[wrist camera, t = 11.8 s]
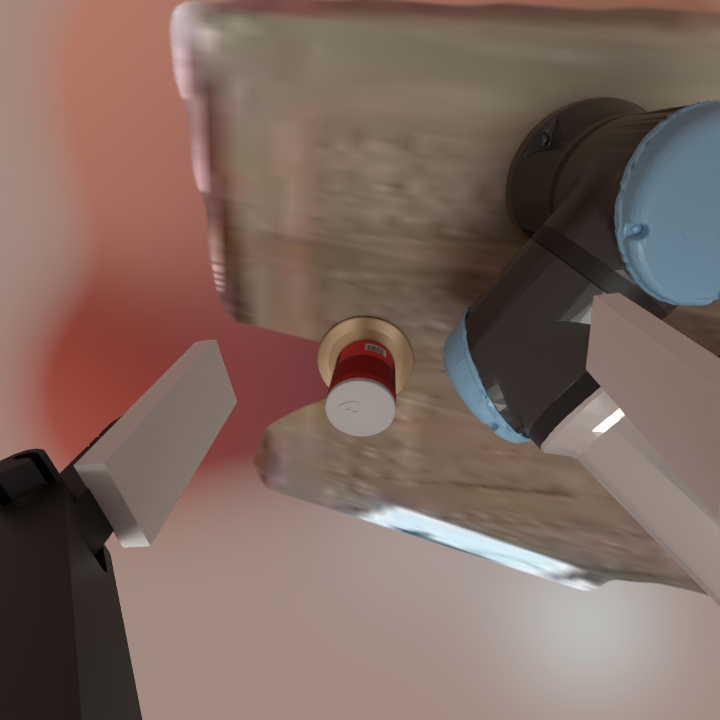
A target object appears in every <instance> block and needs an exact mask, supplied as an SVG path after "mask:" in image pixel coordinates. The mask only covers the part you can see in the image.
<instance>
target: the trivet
mask: <svg viewBox="0 0 720 720" xmlns="http://www.w3.org/2000/svg"><path fill="white" fill-rule="evenodd" d="M360 340H371V341H375V342H377V343H380V344H381V345H383V346H384V347H386V348H387V349H388V350H389V352H390V353H391V355H392V356H393V358H394V361H395V376H396V394H397V393H399V392H400V391H401V390H402V389H403V388H404V387H405V386H406V384H407V383H408V381H409V379H410V377H411V374H412V371H413V364H414V363H413V352H412V348H411V345H410V343H409V341H408V339H407V338H406V336H405V335H404V334H403V333H402V332H401V331H400V330H399V329H398V328H397V327H396V326H394V325H393V324H391V323H389V322H387V321H385V320H383V319H379V318H375V317H368V316H361V317H354V318H350V319H347V320H344V321H342V322H340V323H339V324H337V325H335V326H334V327H333V328H332V329H331V330H330V331H329V332H328V333H327V334H326V336H325V337H324V339H323V341H322V343H321V345H320V349H319V352H318V367H319V371H320V374H321V376H322V378H323V380H324V382H325V383H326V384H327V385H328V387H329V386H330V382H331V379H332V375H333V371H334V367H335V364H336V360H337V357H338V355H339V353H340V352H341V351H342V350H343V349H344V348H345V347H346V346H347V345H349V344H351V343H353V342H356V341H360Z"/></svg>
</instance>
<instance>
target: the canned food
mask: <svg viewBox="0 0 720 720" xmlns="http://www.w3.org/2000/svg"><path fill="white" fill-rule="evenodd" d="M395 412H396V376H395V361H394V358H393V356H392V355H391V353H390V352H389V350H388V349H387V348H386V347H384V346H383V345H381V344H380V343H377V342H375V341H371V340H360V341H356V342H353V343H351V344H349V345H347V346H346V347H345V348H344V349H343V350H342V351H341V352H340V353H339V355H338V357H337V360H336V364H335V367H334V371H333V375H332V379H331V382H330V386H329V390H328V394H327V399H326V414H327V417H328V419H329V420H330V422H331V423H332V424H333V425H334V426H335V427H336V428H337V429H339V430H340V431H342V432H344V433H347V434H349V435H354V436H370V435H374V434H377V433H379V432H381V431H383V430H384V429H386V428H387V427H388V426H389V425H390V424H391V422H392V421H393V419H394V416H395Z"/></svg>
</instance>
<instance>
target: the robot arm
mask: <svg viewBox="0 0 720 720" xmlns="http://www.w3.org/2000/svg"><path fill="white" fill-rule="evenodd" d="M506 201H507V208H508V212H509V215H510V218H511V220H512V222H513V224H514V226H515V227H516V229H517V230H518V232H519V233H520V234H521V235H522V236H523V237H524V238H525V239H526V240H527V242H526V243H525V244H524V246H523V247H522V248H521V249H520V250H519V251H518V253H517V254H516V255H515V256H514V257H513V258H512V260H511V261H510V262H509V263H508V264H507V265H506V266H505V268H504V269H503V270H502V271H501V272H500V273H499V275H498V276H497V277H496V278H495V279H494V280H493V282H492V283H491V284H490V285H489V286H488V287H487V289H486V290H485V291H484V292H483V293H482V294H481V296H480V297H479V298H478V299H477V300H476V301H475V303H474V304H473V305H472V306H470V307H468V308H467V309H466V310H465V312H464V314H463V316H462V319H461V321H460V322H459V323H458V324H457V326H456V327H455V328H454V330H453V331H452V332H451V334H450V335H449V336H448V338H447V339H446V341H445V344H444V356H443V360H444V365H445V369H446V372H447V374H448V377H449V379H450V381H451V383H452V385H453V386H454V388H455V390H456V391H457V393H458V394H459V396H460V397H461V399H462V400H463V402H464V403H465V404H466V406H467V407H468V408H469V409H470V411H471V412H472V413H473V414H474V415H475V416H476V417H477V418H478V419H479V420H480V421H481V422H482V423H483V424H488V425H489V426H490V428H491V430H492V431H493V432H494V433H495V434H497V435H498V436H499V437H501V438H503V439H505V440H507V441H510V442H513V443H523V442H528V441H531V440H532V441H533V442H534V443H535V444H536V445H537V446H538V447H539V448H540V449H541V450H542V451H543V452H544V453H549V454H557V455H565V456H570V457H573V458H575V459H577V460H578V461H579V462H580V463H581V464H582V465H583V466H584V467H585V468H586V469H587V470H588V471H589V472H590V473H591V474H592V475H593V476H594V477H595V478H596V479H597V480H598V481H599V483H600V484H601V485H602V486H603V487H604V488H605V489H606V490H607V491H608V492H609V493H610V494H611V495H612V496H613V497H614V498H615V499H616V500H617V501H618V502H619V503H620V504H621V505H622V506H623V507H624V508H625V509H626V510H627V511H628V512H629V513H630V514H631V515H632V516H633V518H634V519H635V520H636V521H637V522H638V523H639V524H640V525H641V526H642V527H643V528H644V529H645V530H646V531H647V532H648V533H649V534H650V535H651V536H652V537H653V538H654V539H655V540H656V541H657V542H658V543H659V544H660V545H661V546H662V547H663V548H664V549H665V550H666V551H667V553H668V554H669V555H670V556H671V557H672V558H673V559H674V560H675V561H676V562H677V563H678V564H679V565H680V566H681V567H682V568H683V569H684V570H685V571H686V572H687V573H688V574H689V575H690V576H691V577H692V578H693V579H694V580H695V581H696V582H697V583H698V584H699V585H700V586H701V588H702V589H703V590H704V591H705V592H706V593H707V594H708V595H709V596H710V597H711V598H712V599H713V600H714V601H715V602H716V603H717V604H718V605H719V606H720V356H716V355H714V354H712V353H711V352H709V351H708V350H706V349H705V348H703V347H702V346H700V345H699V344H697V343H696V342H694V341H692V340H691V339H689V338H688V337H686V336H685V335H683V334H682V333H680V332H679V331H677V330H676V329H674V328H673V327H671V326H669V325H668V324H666V323H665V322H663V321H662V320H663V319H664V318H665V317H666V316H667V315H668V314H669V313H670V312H672V311H673V310H674V309H675V308H676V307H677V306H678V305H680V306H683V305H687V306H702V305H708V304H710V303H712V302H713V301H714V300H720V101H706V102H703V103H697V104H693V105H688V106H682V107H676V108H669V109H663V110H657V111H650V112H647V111H645V110H644V109H643V108H641V107H640V106H638V105H636V104H634V103H632V102H629V101H626V100H622V99H618V98H606V97H605V98H594V99H588V100H584V101H580V102H576V103H573V104H570V105H568V106H565V107H563V108H561V109H559V110H557V111H556V112H554V113H552V114H551V115H549V116H548V117H547V118H545V119H544V120H543V121H542V122H540V123H539V124H538V125H537V126H536V127H535V128H534V129H533V130H532V131H531V132H530V134H529V135H528V136H527V137H526V139H525V140H524V141H523V143H522V144H521V146H520V148H519V149H518V151H517V153H516V155H515V157H514V159H513V162H512V164H511V167H510V170H509V174H508V179H507V186H506ZM236 403H237V400H236V398H235V395H234V392H233V389H232V386H231V383H230V380H229V377H228V374H227V372H226V368H225V365H224V363H223V360H222V357H221V354H220V351H219V348H218V345H217V342H216V340H207V341H198V342H196V343H194V344H193V345H192V346H191V347H190V348H189V349H188V351H187V352H185V353H184V354H183V355H182V356H181V357H180V358H179V360H178V361H177V362H176V363H175V364H174V365H173V366H172V367H171V368H170V369H169V370H168V371H167V372H166V373H165V374H164V375H163V376H162V377H161V378H160V379H159V380H158V381H157V382H156V383H155V384H154V385H153V386H152V387H151V388H150V389H149V390H148V391H147V392H146V393H145V394H144V395H143V396H142V397H141V398H140V399H139V400H138V401H137V402H136V403H135V404H134V405H133V406H132V407H131V408H130V409H129V410H128V411H127V412H126V413H125V414H124V415H123V416H121V417H119V418H118V419H116V420H115V421H113V422H112V423H111V424H109V425H108V426H107V427H106V428H105V429H104V430H103V431H102V432H101V433H100V434H99V437H96V438H95V439H94V440H93V441H92V442H91V443H90V446H89V447H86V448H85V449H84V450H83V451H82V452H81V453H80V454H79V455H78V456H77V457H76V458H75V459H74V460H73V461H72V462H71V463H70V464H69V465H68V466H67V467H66V468H65V469H64V470H63V471H62V472H61V473H60V474H59V472H58V471H57V469H56V468H55V466H54V465H53V463H52V461H51V460H50V458H49V457H48V455H47V454H46V452H45V450H42V449H31V450H26V451H23V452H20V453H17V454H14V455H12V456H10V457H8V458H6V459H3V460H1V461H0V720H142V716H141V711H140V705H139V700H138V695H137V690H136V685H135V679H134V674H133V669H132V664H131V659H130V654H129V648H128V643H127V638H126V633H125V628H124V623H123V618H122V613H121V607H120V602H119V597H118V591H117V587H116V581H115V576H114V571H113V565H112V560H111V555H110V553H109V551H108V549H107V548H106V546H105V545H104V543H105V542H106V540H107V539H108V538H109V536H110V535H111V534H112V532H114V533H115V535H116V536H117V538H118V540H119V541H120V543H121V545H122V546H123V547H139V546H140V547H142V546H151V544H152V543H153V541H154V539H155V538H156V536H157V534H158V533H159V531H160V529H161V528H162V526H163V524H164V523H165V521H166V519H167V517H168V516H169V514H170V513H171V511H172V509H173V508H174V506H175V504H176V503H177V501H178V499H179V498H180V496H181V494H182V493H183V491H184V489H185V488H186V486H187V484H188V483H189V481H190V479H191V478H192V476H193V474H194V473H195V471H196V469H197V468H198V466H199V464H200V463H201V461H202V459H203V458H204V456H205V454H206V453H207V451H208V449H209V448H210V446H211V444H212V443H213V441H214V439H215V438H216V436H217V434H218V433H219V431H220V429H221V428H222V426H223V425H224V423H225V421H226V419H227V418H228V416H229V415H230V413H231V411H232V409H233V408H234V406H235V405H236Z"/></svg>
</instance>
